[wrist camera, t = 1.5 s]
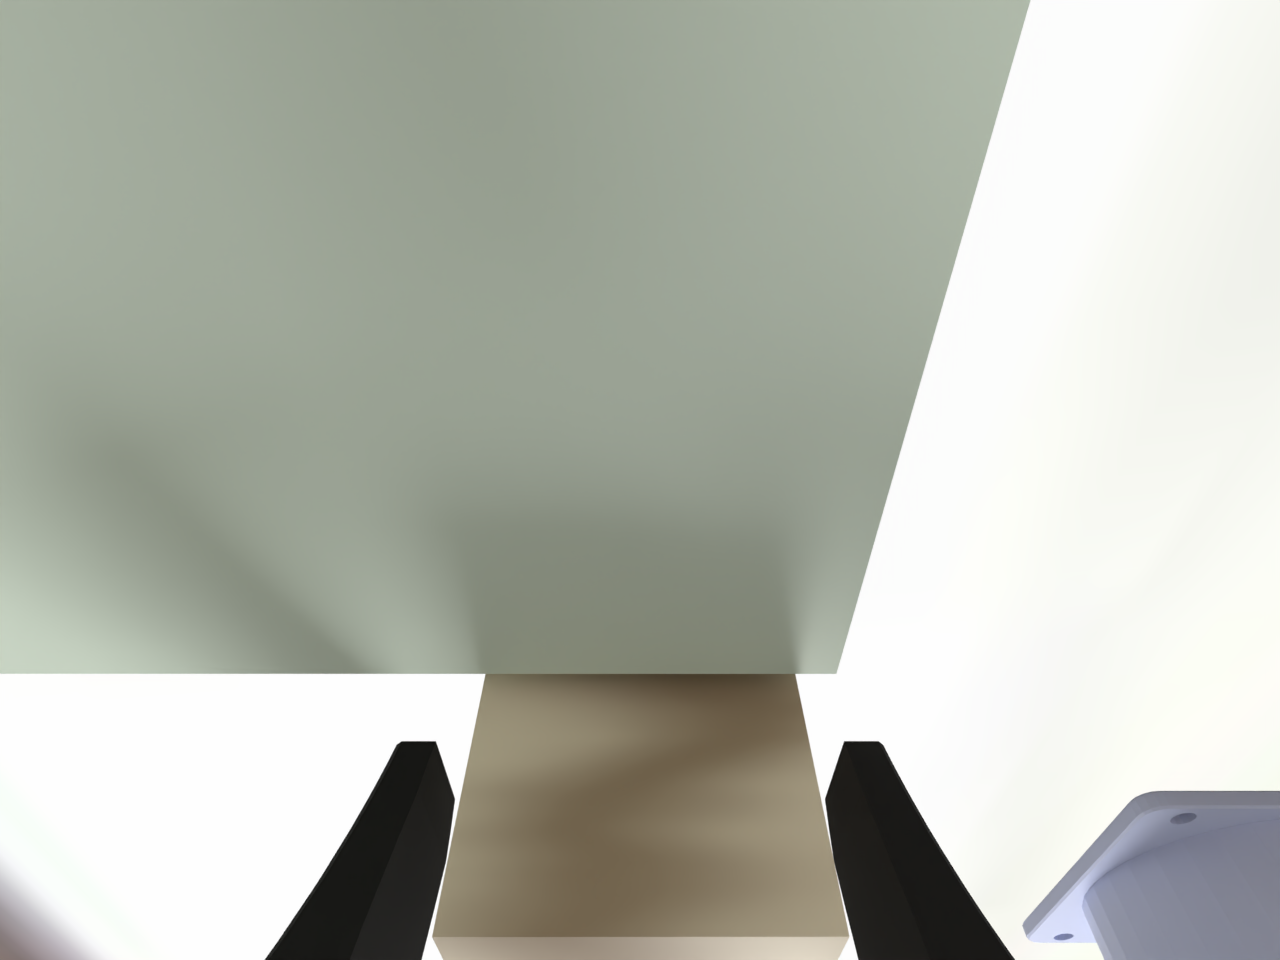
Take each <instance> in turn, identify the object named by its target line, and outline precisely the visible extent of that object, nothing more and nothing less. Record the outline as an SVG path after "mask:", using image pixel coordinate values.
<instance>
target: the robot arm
mask: <svg viewBox="0 0 1280 960" xmlns="http://www.w3.org/2000/svg"><path fill="white" fill-rule="evenodd" d="M454 804H455V797H454V794H453V791H452V788H451V785H450V782H449V779H448V776H447V773H446V770H445V767H444V764H443V761H442V758H441V755H440V752H439V749H438V746H437V743H436V741H401V742H400V743H398V744H397V745H396V747H395V749H394V751H393V753H392V755H391V757H390V759H389V761H388V763H387V764H386V766H385V768H384V770H383V772H382V774H381V776H380V778H379V779H378V781H377V783H376V785H375V787H374V789H373V790H372V792H371V794H370V796H369V798H368V799H367V801H366V803H365V805H364V806H363V808H362V810H361V812H360V813H359V815H358V817H357V818H356V820H355V822H354V824H353V825H352V827H351V829H350V830H349V832H348V834H347V835H346V837H345V839H344V840H343V842H342V843H341V845H340V847H339V848H338V850H337V852H336V853H335V855H334V856H333V858H332V860H331V861H330V863H329V865H328V866H327V868H326V869H325V871H324V873H323V874H322V876H321V877H320V879H319V881H318V882H317V884H316V885H315V887H314V888H313V890H312V891H311V893H310V894H309V896H308V897H307V899H306V900H305V902H304V903H303V905H302V906H301V908H300V909H299V911H298V912H297V914H296V915H295V917H294V918H293V919H292V921H291V922H290V924H289V925H288V927H287V928H286V930H285V931H284V933H283V934H282V936H281V937H280V939H279V940H278V942H277V943H276V944H275V946H274V947H273V949H272V950H271V951H270V953H269V954H268V956H267V957H266V958H265V960H422V956H423V952H424V948H425V944H426V940H427V937H428V933H429V929H430V925H431V921H432V917H433V913H434V909H435V905H436V901H437V897H438V892H439V888H440V884H441V880H442V876H443V872H444V868H445V864H446V859H447V852H448V846H449V839H450V833H451V826H452V818H453V811H454ZM825 804H826V811H827V818H828V826H829V833H830V839H831V846H832V852H833V859H834V864H835V868H836V872H837V876H838V880H839V884H840V888H841V892H842V897H843V901H844V905H845V909H846V913H847V917H848V921H849V925H850V929H851V933H852V937H853V940H854V944H855V948H856V952H857V956H858V960H1015V959H1014V957H1013V956H1012V955H1011V953H1010V952H1009V950H1008V949H1007V948H1006V946H1005V945H1004V943H1003V942H1002V940H1001V939H1000V938H999V936H998V935H997V933H996V932H995V930H994V929H993V927H992V926H991V924H990V923H989V922H988V920H987V919H986V917H985V916H984V914H983V913H982V911H981V910H980V908H979V907H978V905H977V904H976V902H975V901H974V899H973V898H972V896H971V895H970V893H969V892H968V890H967V889H966V887H965V886H964V884H963V882H962V881H961V879H960V878H959V876H958V874H957V873H956V871H955V870H954V868H953V866H952V865H951V863H950V862H949V860H948V859H947V857H946V855H945V854H944V852H943V851H942V849H941V847H940V846H939V844H938V842H937V841H936V839H935V837H934V836H933V834H932V832H931V831H930V829H929V827H928V826H927V824H926V822H925V821H924V819H923V817H922V815H921V814H920V812H919V810H918V808H917V807H916V805H915V803H914V801H913V800H912V798H911V796H910V794H909V793H908V791H907V789H906V787H905V785H904V783H903V782H902V780H901V778H900V776H899V774H898V772H897V770H896V769H895V767H894V765H893V763H892V761H891V759H890V757H889V755H888V753H887V751H886V749H885V747H884V745H883V744H882V743H880V742H879V741H844V743H843V746H842V749H841V752H840V755H839V758H838V761H837V764H836V767H835V770H834V773H833V776H832V779H831V782H830V785H829V788H828V791H827V794H826V797H825ZM1022 927H1023V929H1024V932H1025V935H1026V937H1027V938H1028V940H1030V941H1032V942H1036V943H1097V945H1098V947H1099V949H1100V951H1101V954H1102V956H1103V958H1104V960H1280V791H1152V792H1148V793H1144V794H1141V795H1139V796H1137V797H1135V798H1134V799H1132V800H1131V801H1130V802H1129V803H1128V804H1127V805H1126V807H1125V808H1124V809H1123V810H1122V811H1121V812H1120V813H1119V814H1118V816H1117V817H1116V818H1115V819H1114V820H1113V821H1112V822H1111V823H1110V825H1109V826H1108V827H1107V828H1106V829H1105V830H1104V831H1103V833H1102V834H1101V835H1100V836H1099V837H1098V838H1097V839H1096V840H1095V842H1094V843H1093V844H1092V845H1091V846H1090V847H1089V848H1088V849H1087V851H1086V852H1085V853H1084V854H1083V855H1082V856H1081V857H1080V859H1079V860H1078V861H1077V862H1076V863H1075V864H1074V865H1073V866H1072V868H1071V869H1070V870H1069V871H1068V872H1067V873H1066V874H1065V876H1064V877H1063V878H1062V879H1061V880H1060V881H1059V882H1058V883H1057V885H1056V886H1055V887H1054V888H1053V889H1052V890H1051V891H1050V892H1049V894H1048V895H1047V896H1046V897H1045V898H1044V899H1043V900H1042V902H1041V903H1040V904H1039V905H1038V906H1037V907H1036V908H1035V909H1034V911H1033V912H1032V913H1031V914H1030V915H1029V916H1028V917H1027V918H1026V920H1025V921H1024V922H1023V925H1022Z"/></svg>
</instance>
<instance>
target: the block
mask: <svg viewBox="0 0 1280 960" xmlns="http://www.w3.org/2000/svg"><path fill="white" fill-rule="evenodd" d="M432 938H433V940H434V942H435V944H436V946H437V948H438V950H439V952H440V954H441V956H442V958H443V960H838V958H839V957H840V955H841V953H842V951H843V949H844V947H845V945H846V943H847V941H848V939H849V932H848V927H847V922H846V917H845V912H844V908H843V903H842V898H841V893H840V888H839V883H838V879H837V874H836V869H835V864H834V859H833V854H832V849H831V845H830V840H829V835H828V830H827V825H826V820H825V816H824V811H823V806H822V801H821V796H820V791H819V786H818V782H817V777H816V772H815V767H814V762H813V757H812V753H811V748H810V743H809V738H808V733H807V728H806V723H805V719H804V714H803V709H802V704H801V699H800V694H799V690H798V685H797V680H796V675H795V674H485V679H484V683H483V688H482V693H481V698H480V703H479V708H478V713H477V718H476V723H475V728H474V733H473V738H472V743H471V747H470V752H469V757H468V762H467V767H466V772H465V777H464V782H463V787H462V792H461V797H460V802H459V806H458V811H457V816H456V821H455V826H454V831H453V836H452V841H451V846H450V851H449V856H448V861H447V865H446V870H445V875H444V880H443V885H442V890H441V895H440V900H439V905H438V910H437V915H436V920H435V925H434V929H433V934H432Z"/></svg>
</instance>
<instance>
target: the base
mask: <svg viewBox="0 0 1280 960" xmlns="http://www.w3.org/2000/svg"><path fill="white" fill-rule="evenodd" d="M1029 4H1030V0H0V674H837V670H838V667H839V663H840V660H841V656H842V653H843V649H844V646H845V642H846V639H847V635H848V632H849V628H850V625H851V622H852V618H853V615H854V611H855V608H856V604H857V601H858V597H859V594H860V590H861V587H862V583H863V580H864V576H865V573H866V569H867V566H868V563H869V559H870V556H871V552H872V549H873V545H874V542H875V538H876V535H877V531H878V528H879V524H880V521H881V517H882V514H883V510H884V507H885V504H886V500H887V497H888V493H889V490H890V486H891V483H892V479H893V476H894V472H895V469H896V465H897V462H898V458H899V455H900V451H901V448H902V445H903V441H904V438H905V434H906V431H907V427H908V424H909V420H910V417H911V413H912V410H913V406H914V403H915V399H916V396H917V392H918V389H919V386H920V382H921V379H922V375H923V372H924V368H925V365H926V361H927V358H928V354H929V351H930V347H931V344H932V340H933V337H934V333H935V330H936V327H937V323H938V320H939V316H940V313H941V309H942V306H943V302H944V299H945V295H946V292H947V288H948V285H949V281H950V278H951V275H952V271H953V268H954V264H955V261H956V257H957V254H958V250H959V247H960V243H961V240H962V236H963V233H964V229H965V226H966V222H967V219H968V216H969V212H970V209H971V205H972V202H973V198H974V195H975V191H976V188H977V184H978V181H979V177H980V174H981V170H982V167H983V163H984V160H985V157H986V153H987V150H988V146H989V143H990V139H991V136H992V132H993V129H994V125H995V122H996V118H997V115H998V111H999V108H1000V104H1001V101H1002V98H1003V94H1004V91H1005V87H1006V84H1007V80H1008V77H1009V73H1010V70H1011V66H1012V63H1013V59H1014V56H1015V52H1016V49H1017V45H1018V42H1019V39H1020V35H1021V32H1022V28H1023V25H1024V21H1025V18H1026V14H1027V11H1028V7H1029Z"/></svg>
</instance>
